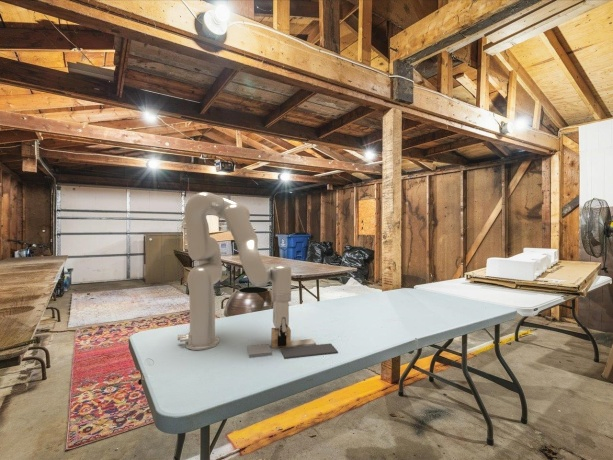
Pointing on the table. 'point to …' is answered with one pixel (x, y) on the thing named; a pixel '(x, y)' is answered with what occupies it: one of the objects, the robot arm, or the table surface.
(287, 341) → the tan stepped block piece
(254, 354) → the tile
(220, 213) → the robot arm
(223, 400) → the table surface
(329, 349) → the mat
